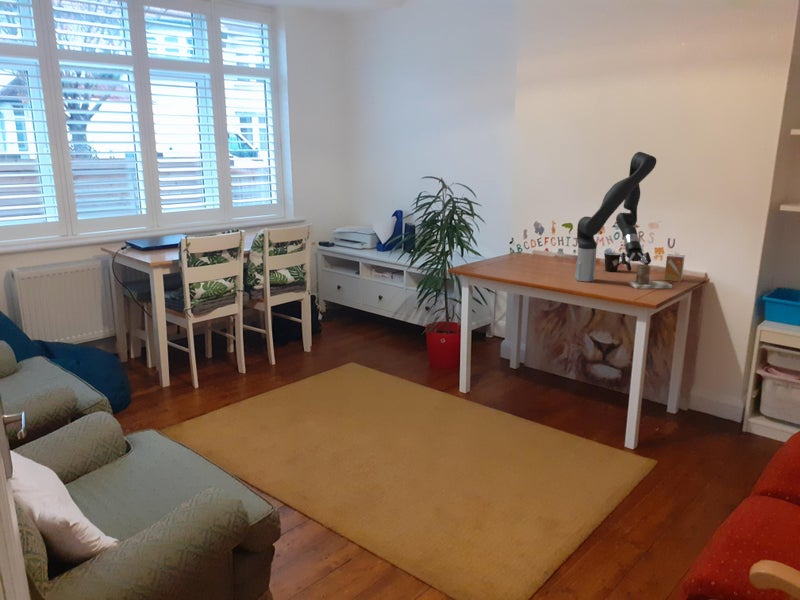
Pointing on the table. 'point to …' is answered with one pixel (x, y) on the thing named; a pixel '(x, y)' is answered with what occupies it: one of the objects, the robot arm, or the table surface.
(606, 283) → the table surface
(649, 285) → the board
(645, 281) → the block
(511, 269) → the table surface
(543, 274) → the table surface
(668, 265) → the small box
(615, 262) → the coffee mug
